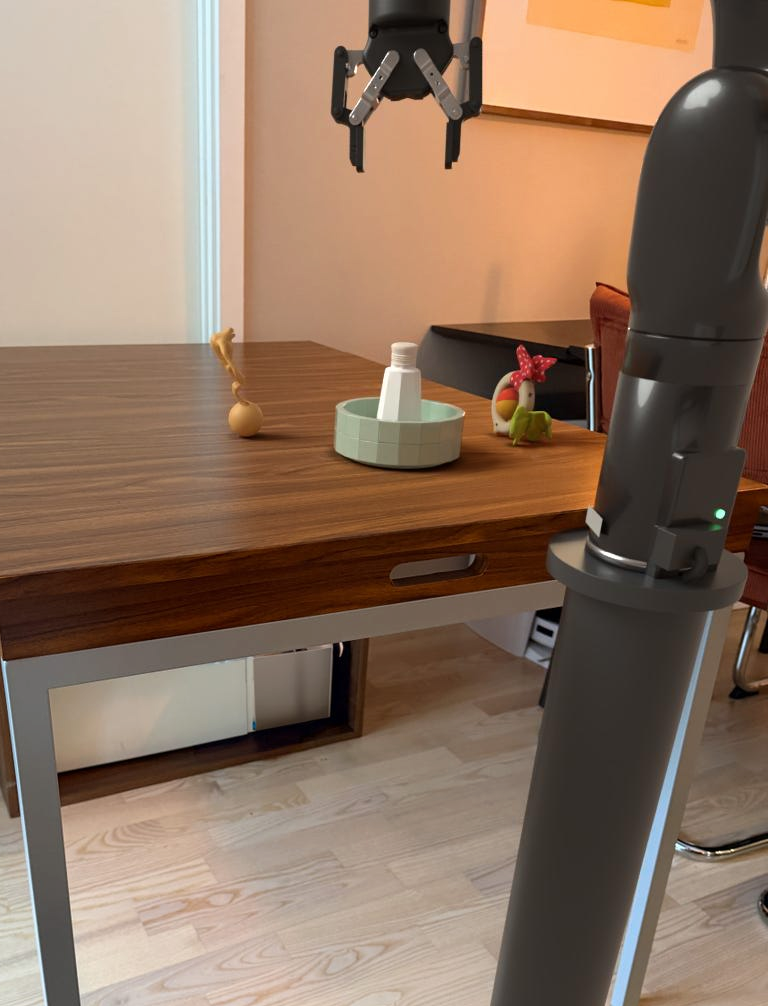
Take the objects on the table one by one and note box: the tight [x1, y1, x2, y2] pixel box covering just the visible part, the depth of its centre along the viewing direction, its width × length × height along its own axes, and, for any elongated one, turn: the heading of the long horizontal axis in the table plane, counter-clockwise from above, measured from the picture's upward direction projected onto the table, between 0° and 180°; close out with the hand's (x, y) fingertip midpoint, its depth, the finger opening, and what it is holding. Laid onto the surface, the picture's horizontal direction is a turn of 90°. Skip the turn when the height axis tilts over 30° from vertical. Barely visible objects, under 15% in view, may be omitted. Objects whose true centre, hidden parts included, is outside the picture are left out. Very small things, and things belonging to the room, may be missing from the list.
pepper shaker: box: [377, 341, 422, 421], centre depth 92 cm, size 5×5×11 cm
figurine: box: [209, 326, 264, 438], centre depth 98 cm, size 8×6×12 cm
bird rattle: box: [491, 344, 558, 446], centre depth 101 cm, size 6×11×9 cm
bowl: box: [333, 396, 466, 470], centre depth 93 cm, size 14×14×5 cm
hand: (404, 169), depth 84 cm, fingers open, 8 cm apart
